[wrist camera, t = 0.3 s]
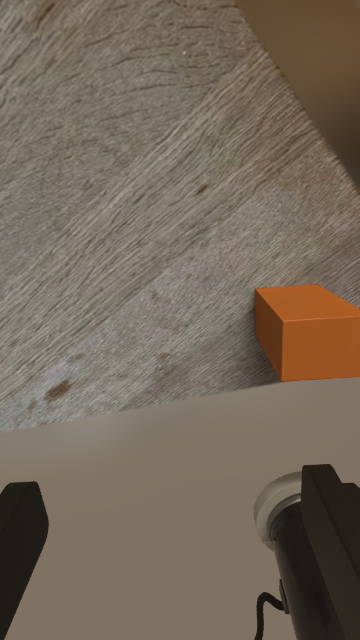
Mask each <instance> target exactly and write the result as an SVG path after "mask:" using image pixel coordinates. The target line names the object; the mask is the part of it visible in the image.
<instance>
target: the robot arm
mask: <svg viewBox="0 0 360 640" xmlns="http://www.w3.org/2000/svg"><path fill="white" fill-rule="evenodd" d="M48 523H49V522H48V516H47V513H46V509H45V506H44V502H43V499H42V495H41V492H40V488H39V485H38V483H37V482H34V481H33V482H16V483H9V484H8V485H7V486H6V487H5V488H4V490H3V491H2V493H1V494H0V640H4V639H5V636H6V634H7V632H8V629H9V627H10V625H11V622H12V620H13V617H14V615H15V613H16V610H17V608H18V606H19V603H20V601H21V599H22V596H23V594H24V591H25V589H26V587H27V584H28V582H29V580H30V577H31V575H32V573H33V570H34V568H35V565H36V563H37V561H38V558H39V556H40V554H41V551H42V549H43V546H44V544H45V542H46V538H47V534H48V525H49V524H48ZM267 528H268V532H269V536H270V540H271V542H272V544H273V548H274V552H275V556H276V560H277V564H278V568H279V572H280V576H281V579H280V586H279V587H280V588H279V590H280V594H281V599H282V601H279V600H277V599H276V598H275V597H274V596H272V595H271V594H269V593H266V592H263V593H262V594H261V595H259V597H258V600H257V633H256V637H255V640H262V637H263V630H264V619H263V604H264V602H265V601H267V602H269V603H270V604H271V605H272V606H274V607H275V608H277V609H278V610H283V611H285V614H290V615H291V619H292V623H293V627H294V630H295V634H296V638H297V640H360V488H359V487H357V485H355V484H354V483H342V482H341V481H340V479H339V477H338V475H337V474H336V472H335V470H334V468H333V467H332V466H331V465H330V464H322V465H321V464H320V465H304V466H303V468H302V485H301V493H297V494H294V495H292V496H289V497H287V498H285V499H284V500H282V501H281V502H279V503H278V504H277V505H276V506H275V507H274V508H273V510H272V511H271V513H270V515H269V518H268V522H267Z"/></svg>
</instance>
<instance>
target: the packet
mask: <svg viewBox="0 0 360 640" xmlns="http://www.w3.org/2000/svg"><path fill="white" fill-rule="evenodd" d="M255 334H256V336H257V338H258V340H259V342H260V343H261V345H262V347H263V349H264V351H265V353H266V354H267V356H268V358H269V360H270V362H271V363H272V365H273V367H274V369H275V371H276V373H277V374H278V376H279V378H280V380H281V381H282V382H283V381H299V380H316V379H331V378H332V379H333V378H349V377H360V309H359V308H357V307H356V306H354V305H352V304H350V303H349V302H347V301H345V300H344V299H342V298H340V297H338V296H337V295H335V294H333V293H332V292H330V291H328V290H327V289H325V288H323V287H321V286H320V285H318V284H313V285H299V286H285V287H271V288H257V289H255Z"/></svg>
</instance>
